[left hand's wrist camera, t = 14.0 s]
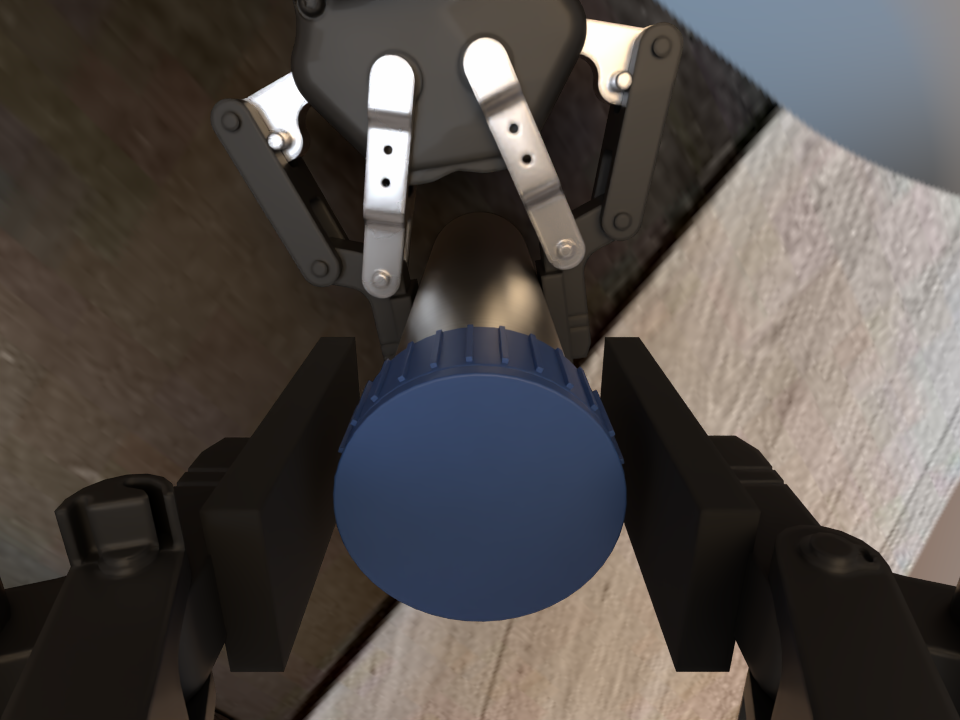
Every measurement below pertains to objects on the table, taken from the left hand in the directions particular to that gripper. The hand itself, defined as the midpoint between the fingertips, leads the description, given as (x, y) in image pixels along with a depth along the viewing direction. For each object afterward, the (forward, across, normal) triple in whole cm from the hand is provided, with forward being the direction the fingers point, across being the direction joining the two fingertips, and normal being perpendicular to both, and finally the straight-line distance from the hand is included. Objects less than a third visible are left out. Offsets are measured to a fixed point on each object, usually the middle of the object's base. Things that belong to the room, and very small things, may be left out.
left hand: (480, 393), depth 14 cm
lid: (-4, 0, 0) cm, 4 cm away
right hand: (+7, 0, -3) cm, 8 cm away
